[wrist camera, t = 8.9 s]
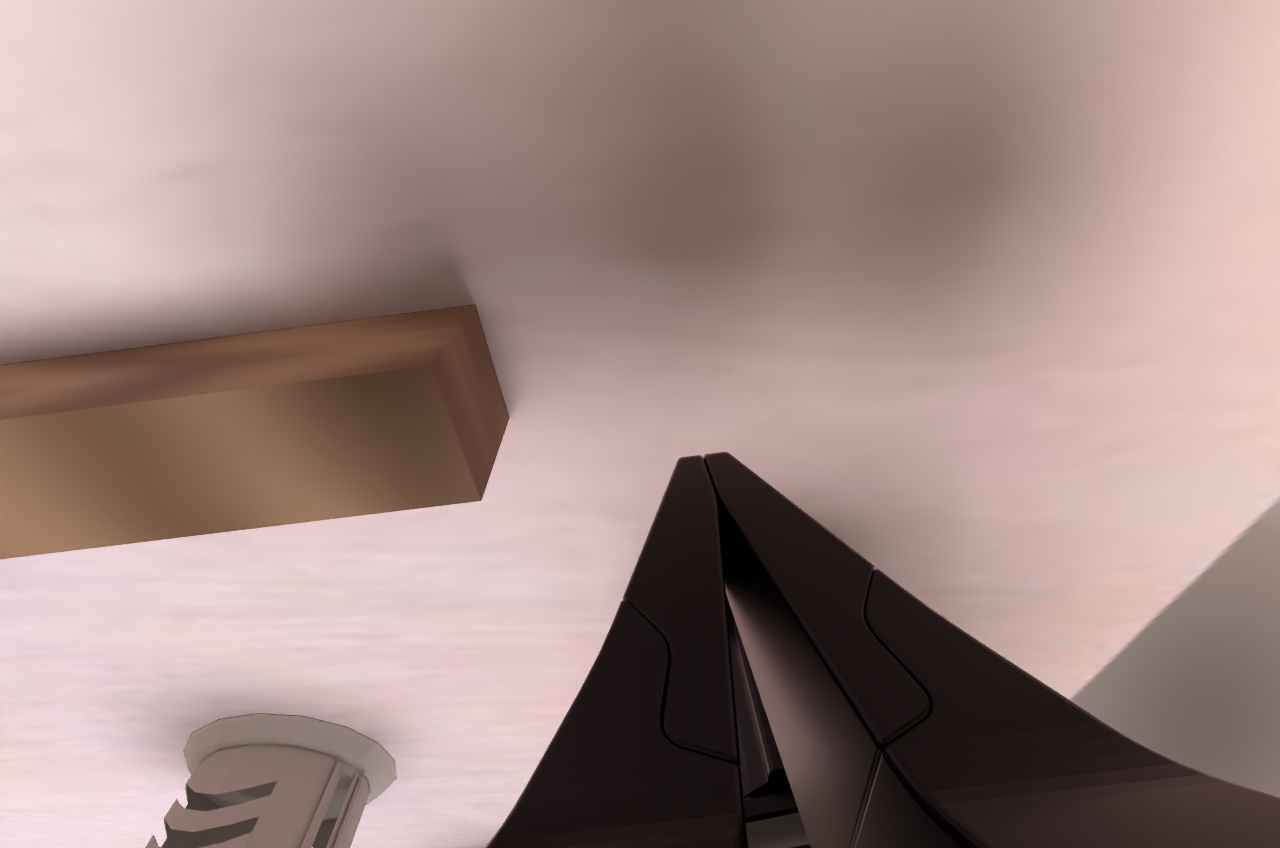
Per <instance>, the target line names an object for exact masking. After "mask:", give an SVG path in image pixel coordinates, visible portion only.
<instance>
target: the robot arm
mask: <svg viewBox="0 0 1280 848" xmlns="http://www.w3.org/2000/svg"><path fill="white" fill-rule="evenodd" d="M485 848H1280V798H1279V797H1276V796H1273V795H1270V794H1267V793H1264V792H1260V791H1257V790H1254V789H1251V788H1248V787H1244V786H1241V785H1238V784H1235V783H1232V782H1229V781H1226V780H1223V779H1220V778H1216V777H1214V776H1211V775H1208V774H1205V773H1203V772H1200V771H1198V770H1195V769H1193V768H1190V767H1188V766H1186V765H1183V764H1181V763H1178V762H1176V761H1174V760H1172V759H1170V758H1168V757H1166V756H1164V755H1161V754H1159V753H1157V752H1155V751H1153V750H1151V749H1149V748H1148V747H1146V746H1144V745H1142V744H1140V743H1138V742H1136V741H1135V740H1133V739H1131V738H1129V737H1127V736H1125V735H1124V734H1122V733H1121V732H1119V731H1117V730H1116V729H1114V728H1112V727H1111V726H1109V725H1107V724H1106V723H1104V722H1103V721H1101V720H1099V719H1098V718H1096V717H1095V716H1093V715H1092V714H1090V713H1089V712H1087V711H1086V710H1084V709H1082V708H1081V707H1079V706H1078V705H1076V704H1075V703H1073V702H1072V701H1070V700H1069V699H1067V698H1065V697H1064V696H1062V695H1061V694H1059V693H1058V692H1056V691H1055V690H1053V689H1052V688H1050V687H1049V686H1047V685H1045V684H1044V683H1042V682H1041V681H1039V680H1038V679H1036V678H1035V677H1033V676H1032V675H1030V674H1029V673H1027V672H1025V671H1024V670H1022V669H1021V668H1019V667H1018V666H1016V665H1015V664H1013V663H1012V662H1010V661H1008V660H1007V659H1005V658H1004V657H1002V656H1001V655H999V654H998V653H996V652H995V651H993V650H992V649H990V648H988V647H987V646H985V645H984V644H982V643H981V642H979V641H978V640H976V639H975V638H973V637H972V636H970V635H969V634H967V633H966V632H964V631H963V630H961V629H960V628H959V627H957V626H956V625H954V624H953V623H951V622H950V621H948V620H947V619H945V618H944V617H942V616H941V615H939V614H938V613H936V612H935V611H934V610H932V609H931V608H930V607H928V606H927V605H925V604H924V603H923V602H921V601H920V600H919V599H917V598H916V597H915V596H913V595H912V594H911V593H909V592H908V591H907V590H905V589H904V588H902V587H901V586H900V585H898V584H897V583H896V582H895V581H893V580H892V579H891V578H889V577H888V576H887V575H886V574H884V573H883V572H882V571H880V570H879V569H875V570H874V566H873V565H872V564H871V563H870V562H869V561H867V560H866V559H865V558H863V557H862V556H861V555H860V554H858V553H857V552H856V551H854V550H853V549H852V548H851V547H849V546H848V545H847V544H845V543H844V542H843V541H841V540H840V539H839V538H838V537H836V536H835V535H834V534H832V533H831V532H830V531H829V530H827V529H826V528H825V527H823V526H822V525H821V524H820V523H818V522H817V521H816V520H814V519H813V518H812V517H811V516H809V515H808V514H807V513H805V512H804V511H803V510H802V509H800V508H799V507H798V506H796V505H795V504H794V503H793V502H791V501H790V500H789V499H787V498H786V497H785V496H784V495H782V494H781V493H780V492H778V491H777V490H776V489H775V488H773V487H772V486H771V485H769V484H768V483H767V482H766V481H764V480H763V479H762V478H760V477H759V476H758V475H757V474H755V473H754V472H753V471H751V470H750V469H749V468H747V467H746V466H745V465H744V464H742V463H741V462H740V461H738V460H737V459H736V458H735V457H733V456H732V455H731V454H729V453H727V452H720V453H712V454H706V455H705V456H704V458H703V457H702V456H700V455H697V456H689V457H682V458H679V460H678V461H677V464H676V466H675V469H674V471H673V474H672V476H671V479H670V481H669V484H668V486H667V489H666V491H665V494H664V496H663V499H662V501H661V504H660V506H659V509H658V511H657V514H656V516H655V519H654V521H653V524H652V526H651V529H650V531H649V534H648V536H647V539H646V541H645V544H644V546H643V549H642V551H641V554H640V556H639V559H638V561H637V564H636V566H635V569H634V571H633V574H632V576H631V579H630V581H629V584H628V586H627V589H626V591H625V594H624V596H623V601H621V603H620V606H619V608H618V611H617V613H616V616H615V618H614V621H613V623H612V625H611V628H610V630H609V632H608V634H607V637H606V639H605V641H604V643H603V646H602V648H601V650H600V652H599V655H598V657H597V659H596V660H595V662H594V664H593V666H592V668H591V670H590V672H589V674H588V676H587V678H586V680H585V681H584V683H583V685H582V687H581V689H580V691H579V693H578V695H577V696H576V698H575V700H574V702H573V704H572V705H571V707H570V709H569V711H568V712H567V714H566V716H565V718H564V720H563V721H562V723H561V725H560V727H559V729H558V730H557V732H556V734H555V736H554V737H553V739H552V741H551V743H550V745H549V746H548V748H547V750H546V752H545V753H544V755H543V757H542V759H541V761H540V762H539V764H538V766H537V768H536V770H535V771H534V773H533V775H532V777H531V778H530V780H529V782H528V784H527V786H526V787H525V789H524V791H523V793H522V794H521V796H520V798H519V799H518V801H517V803H516V804H515V806H514V808H513V809H512V811H511V812H510V814H509V816H508V817H507V819H506V820H505V822H504V823H503V825H502V826H501V828H500V829H499V830H498V832H497V833H496V834H495V836H494V837H493V838H492V840H491V841H490V842H489V844H488V845H487V846H486V847H485Z"/></svg>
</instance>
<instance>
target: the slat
mask: <svg viewBox="0 0 1280 848" xmlns="http://www.w3.org/2000/svg"><path fill="white" fill-rule="evenodd" d="M508 420H509V415H508V412H507V409H506V405H505V402H504V399H503V395H502V392H501V389H500V385H499V382H498V379H497V375H496V372H495V369H494V365H493V362H492V359H491V355H490V352H489V349H488V345H487V342H486V339H485V335H484V332H483V329H482V325H481V322H480V319H479V315H478V312H477V309H476V305H469V306H461V307H453V308H445V309H437V310H429V311H422V312H414V313H406V314H398V315H390V316H382V317H374V318H366V319H359V320H351V321H343V322H335V323H327V324H319V325H311V326H303V327H296V328H288V329H280V330H272V331H264V332H256V333H248V334H240V335H233V336H225V337H217V338H209V339H201V340H193V341H185V342H177V343H170V344H162V345H154V346H146V347H138V348H130V349H122V350H114V351H107V352H99V353H91V354H83V355H75V356H67V357H59V358H51V359H44V360H36V361H28V362H20V363H12V364H4V365H0V559H6V558H14V557H23V556H31V555H39V554H47V553H56V552H64V551H72V550H80V549H88V548H97V547H105V546H113V545H121V544H130V543H138V542H146V541H154V540H162V539H171V538H179V537H187V536H195V535H204V534H212V533H220V532H228V531H236V530H245V529H253V528H261V527H269V526H278V525H286V524H294V523H302V522H310V521H319V520H327V519H335V518H343V517H352V516H360V515H368V514H376V513H384V512H393V511H401V510H409V509H417V508H426V507H434V506H442V505H450V504H458V503H467V502H475V501H481V500H482V497H483V494H484V491H485V488H486V485H487V482H488V479H489V477H490V474H491V471H492V468H493V465H494V462H495V459H496V456H497V453H498V450H499V447H500V444H501V441H502V438H503V435H504V432H505V429H506V426H507V423H508Z"/></svg>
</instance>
